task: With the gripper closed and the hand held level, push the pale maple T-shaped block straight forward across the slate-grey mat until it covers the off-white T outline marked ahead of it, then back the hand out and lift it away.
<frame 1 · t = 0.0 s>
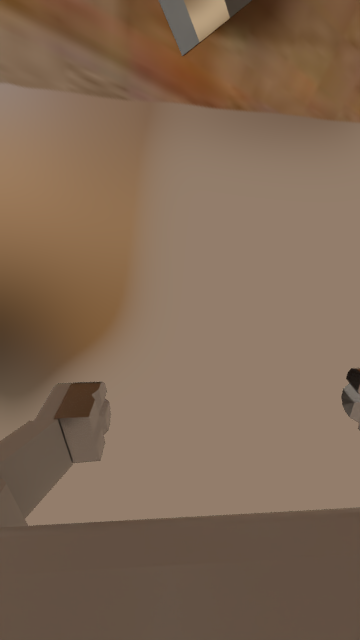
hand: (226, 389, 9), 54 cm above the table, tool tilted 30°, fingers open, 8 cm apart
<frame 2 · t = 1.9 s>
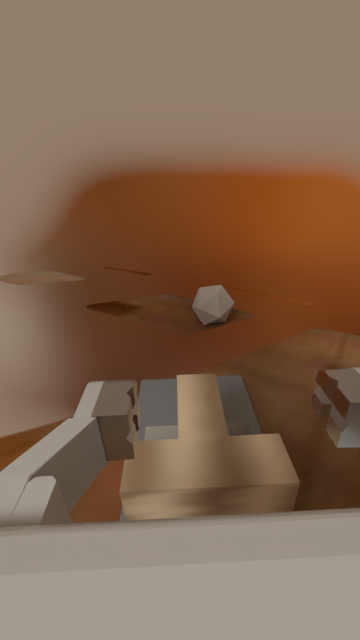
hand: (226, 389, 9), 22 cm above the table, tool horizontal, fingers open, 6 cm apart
die: (212, 321, 62), on the table
t block: (202, 489, 28), resting on t mat
t mat: (198, 452, 32), on the table
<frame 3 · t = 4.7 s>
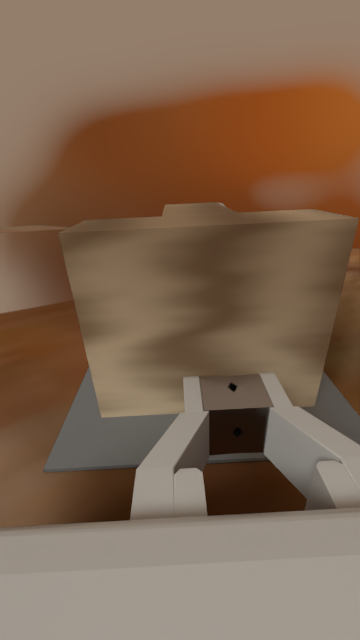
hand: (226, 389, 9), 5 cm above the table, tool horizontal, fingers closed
t block: (198, 352, 21), resting on t mat
t mat: (194, 326, 25), on the table
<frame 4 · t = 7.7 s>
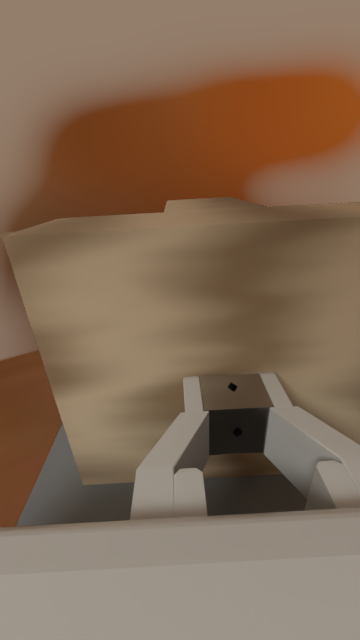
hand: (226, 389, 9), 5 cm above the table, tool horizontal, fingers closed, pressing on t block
t block: (210, 383, 17), resting on t mat, touching gripper
t mat: (216, 427, 14), on the table
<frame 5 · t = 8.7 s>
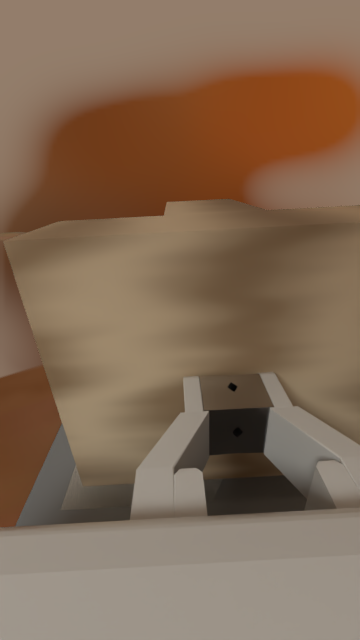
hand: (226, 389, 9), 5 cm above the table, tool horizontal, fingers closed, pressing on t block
t block: (209, 384, 17), resting on t mat, touching gripper
t mat: (223, 479, 12), on the table
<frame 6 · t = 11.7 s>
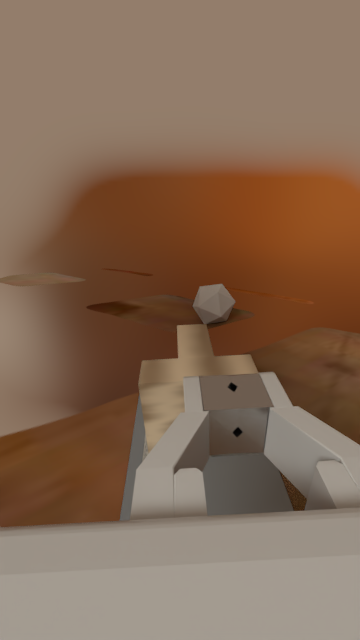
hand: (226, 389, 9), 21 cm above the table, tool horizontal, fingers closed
die: (213, 320, 62), on the table
t block: (196, 411, 37), resting on t mat
t mat: (199, 451, 32), on the table
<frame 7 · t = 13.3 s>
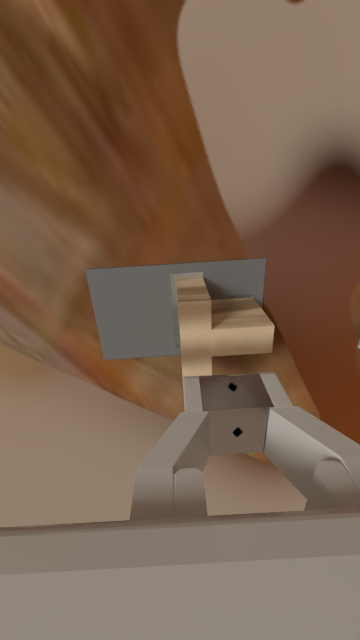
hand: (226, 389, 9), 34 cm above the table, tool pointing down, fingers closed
t block: (215, 311, 45), resting on t mat
t mat: (178, 312, 45), on the table
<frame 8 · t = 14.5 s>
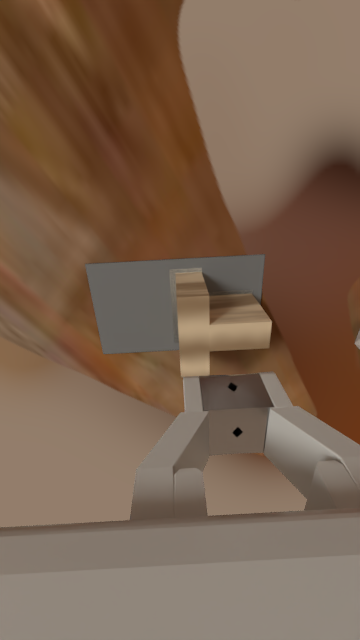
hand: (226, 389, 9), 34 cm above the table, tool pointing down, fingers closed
t block: (214, 306, 45), resting on t mat
t mat: (177, 307, 45), on the table
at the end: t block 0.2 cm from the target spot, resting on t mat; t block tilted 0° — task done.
